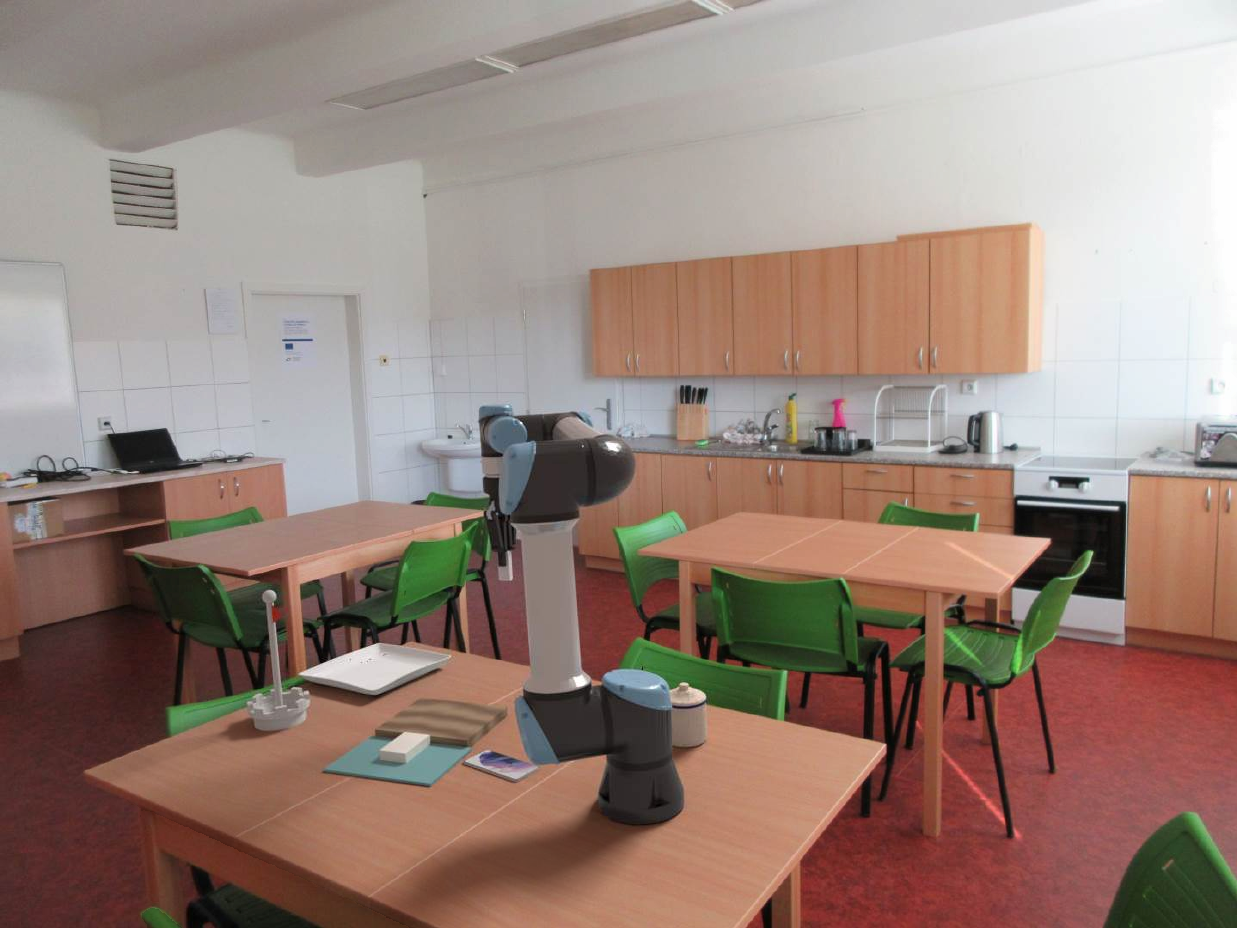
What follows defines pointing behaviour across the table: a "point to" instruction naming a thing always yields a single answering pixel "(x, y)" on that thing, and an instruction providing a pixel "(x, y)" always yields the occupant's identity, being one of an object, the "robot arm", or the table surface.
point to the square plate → (375, 668)
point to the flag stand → (277, 687)
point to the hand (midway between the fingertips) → (505, 579)
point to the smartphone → (501, 765)
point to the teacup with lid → (688, 716)
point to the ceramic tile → (405, 747)
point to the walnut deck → (444, 721)
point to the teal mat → (416, 771)
